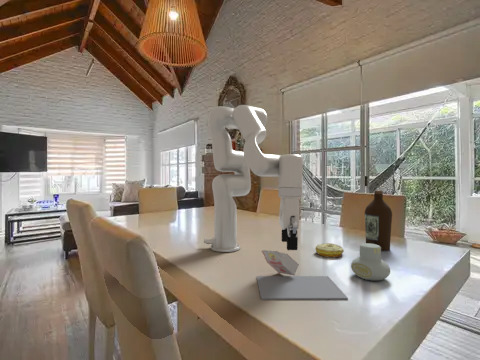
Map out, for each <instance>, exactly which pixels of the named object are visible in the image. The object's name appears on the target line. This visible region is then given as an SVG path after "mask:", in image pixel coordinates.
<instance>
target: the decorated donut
mask: <svg viewBox="0 0 480 360" xmlns="http://www.w3.org/2000/svg"><path fill="white" fill-rule="evenodd" d="M315 251H316V253H317V254H318V255H319V256H321V257H326V258H339V257H341V256H342V255H343V253H344V251H345V249H344V248H343V247H342V246H341V245H338V244H335V243H331V242H330V243H328V242H327V243H320V244H317V245H316V246H315Z"/></svg>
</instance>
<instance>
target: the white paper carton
mask: <svg viewBox="0 0 480 360" xmlns="http://www.w3.org/2000/svg"><path fill="white" fill-rule="evenodd" d="M261 253H262V254H263V257H264V259H265V261H266V263H267V264H268V265H269V266H270V267H271V268H273V269H274V270H275V272H277V273H279V274H283V275H288V276H296V272H297V270H298V268H299V263H298V262H297V261H295V259H293V257H291V256H290V254H288V253H285V252H280V251H278V250H265V249H264V250H263V249H262V250H261Z"/></svg>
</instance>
